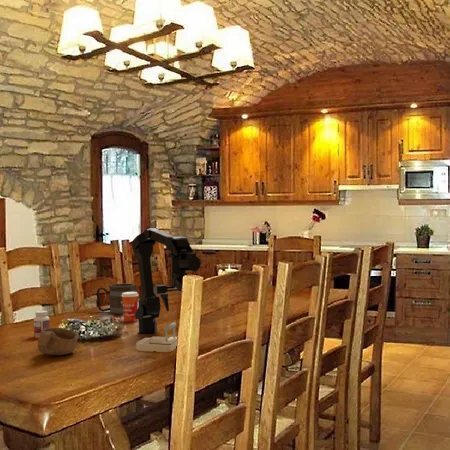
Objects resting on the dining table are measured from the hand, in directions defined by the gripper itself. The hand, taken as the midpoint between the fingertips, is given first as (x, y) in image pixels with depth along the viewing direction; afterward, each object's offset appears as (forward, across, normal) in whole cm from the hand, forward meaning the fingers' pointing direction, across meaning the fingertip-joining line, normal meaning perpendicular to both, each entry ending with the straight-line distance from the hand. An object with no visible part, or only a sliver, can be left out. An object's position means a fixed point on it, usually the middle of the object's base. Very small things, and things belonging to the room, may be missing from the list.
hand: (179, 310), depth 250 cm
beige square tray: (+13, -10, -6) cm, 17 cm away
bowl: (+13, -46, -2) cm, 48 cm away
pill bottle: (+13, -48, +34) cm, 60 cm away
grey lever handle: (+9, -5, -9) cm, 14 cm away
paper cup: (+13, -8, +50) cm, 52 cm away
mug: (+13, -9, +74) cm, 76 cm away
